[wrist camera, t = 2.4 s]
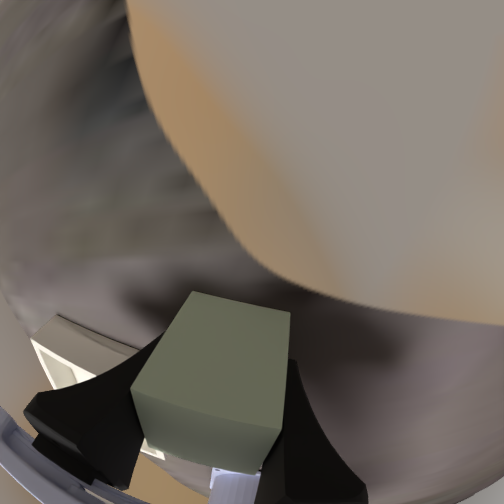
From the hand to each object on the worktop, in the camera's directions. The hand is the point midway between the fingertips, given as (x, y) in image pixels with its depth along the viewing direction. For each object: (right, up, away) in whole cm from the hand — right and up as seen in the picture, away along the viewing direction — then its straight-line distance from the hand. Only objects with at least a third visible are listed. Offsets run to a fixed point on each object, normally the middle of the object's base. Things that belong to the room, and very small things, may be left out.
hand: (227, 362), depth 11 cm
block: (0, +1, +2) cm, 2 cm away
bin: (-9, -5, +5) cm, 11 cm away
